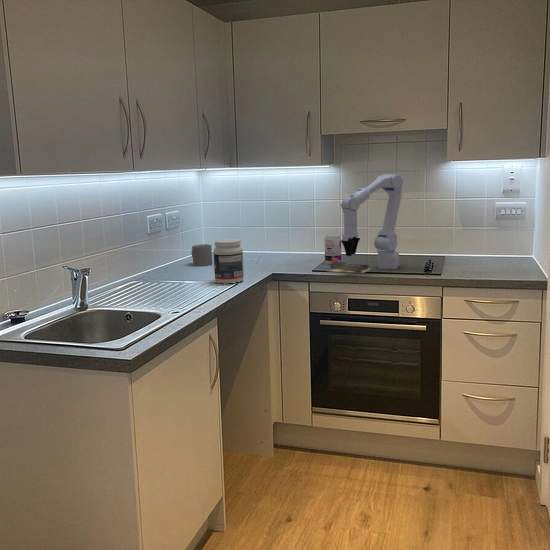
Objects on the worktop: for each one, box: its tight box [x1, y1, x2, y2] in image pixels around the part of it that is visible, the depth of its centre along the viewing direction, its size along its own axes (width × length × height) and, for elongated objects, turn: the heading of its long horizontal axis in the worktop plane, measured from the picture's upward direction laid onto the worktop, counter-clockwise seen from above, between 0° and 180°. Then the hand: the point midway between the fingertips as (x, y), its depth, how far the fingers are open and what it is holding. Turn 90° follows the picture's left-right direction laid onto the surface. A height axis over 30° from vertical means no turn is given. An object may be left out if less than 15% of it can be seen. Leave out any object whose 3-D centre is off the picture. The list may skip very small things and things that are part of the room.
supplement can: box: [324, 234, 343, 266], centre depth 305 cm, size 8×8×15 cm
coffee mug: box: [191, 243, 213, 267], centre depth 323 cm, size 13×10×10 cm
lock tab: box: [332, 258, 338, 263], centre depth 291 cm, size 2×2×2 cm
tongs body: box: [330, 262, 369, 270], centre depth 288 cm, size 17×4×2 cm, turn 63°
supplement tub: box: [212, 238, 245, 284], centre depth 272 cm, size 13×13×18 cm
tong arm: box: [338, 262, 362, 271], centre depth 286 cm, size 14×3×3 cm, turn 43°
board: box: [326, 267, 372, 274], centre depth 287 cm, size 18×12×1 cm, turn 63°
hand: (350, 255), depth 276 cm, fingers open, 5 cm apart
